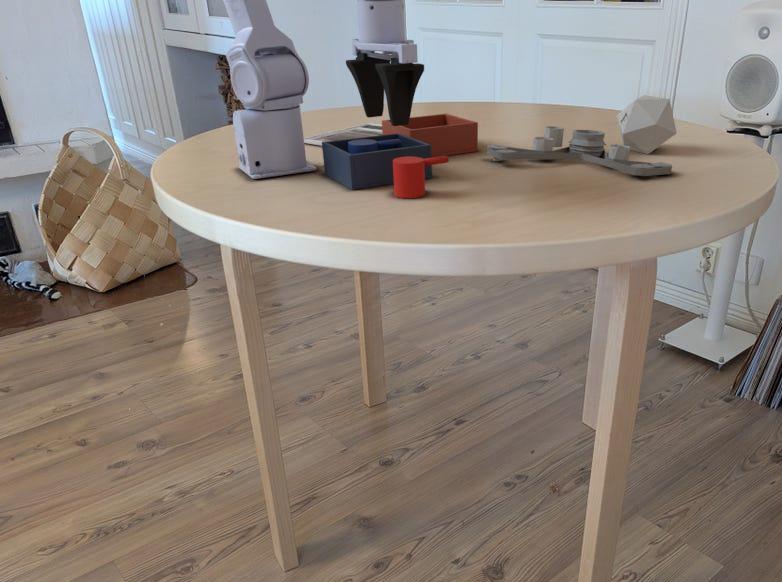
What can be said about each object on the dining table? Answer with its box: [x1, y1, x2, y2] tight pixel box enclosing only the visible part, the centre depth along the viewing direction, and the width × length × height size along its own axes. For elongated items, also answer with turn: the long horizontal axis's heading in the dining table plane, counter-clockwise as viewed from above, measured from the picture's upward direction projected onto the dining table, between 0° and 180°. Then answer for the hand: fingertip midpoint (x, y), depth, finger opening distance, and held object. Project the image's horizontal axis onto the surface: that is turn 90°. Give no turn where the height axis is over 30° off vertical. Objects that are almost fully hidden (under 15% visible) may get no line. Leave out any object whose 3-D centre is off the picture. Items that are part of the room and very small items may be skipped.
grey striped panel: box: [304, 122, 383, 147], centre depth 118 cm, size 11×1×18 cm
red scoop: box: [393, 155, 450, 199], centre depth 86 cm, size 8×4×4 cm, turn 120°
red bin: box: [381, 113, 479, 158], centre depth 108 cm, size 12×10×4 cm
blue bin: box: [321, 133, 433, 191], centre depth 93 cm, size 12×10×4 cm
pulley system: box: [486, 125, 673, 177], centre depth 99 cm, size 27×5×15 cm
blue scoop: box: [348, 139, 401, 154], centre depth 93 cm, size 8×4×4 cm, turn 120°
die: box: [616, 94, 678, 155], centre depth 105 cm, size 8×9×10 cm
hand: (386, 120), depth 85 cm, fingers open, 7 cm apart
